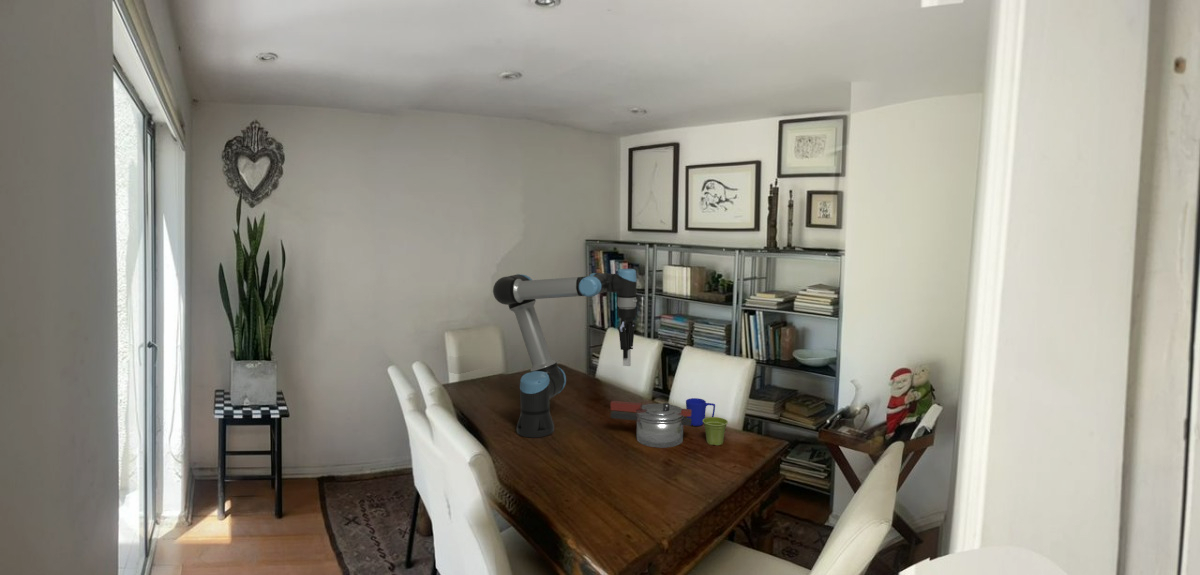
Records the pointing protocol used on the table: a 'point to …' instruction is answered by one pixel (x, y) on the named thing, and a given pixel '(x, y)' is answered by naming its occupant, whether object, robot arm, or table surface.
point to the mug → (698, 410)
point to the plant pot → (715, 430)
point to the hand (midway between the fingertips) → (626, 365)
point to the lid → (652, 410)
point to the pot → (656, 430)
